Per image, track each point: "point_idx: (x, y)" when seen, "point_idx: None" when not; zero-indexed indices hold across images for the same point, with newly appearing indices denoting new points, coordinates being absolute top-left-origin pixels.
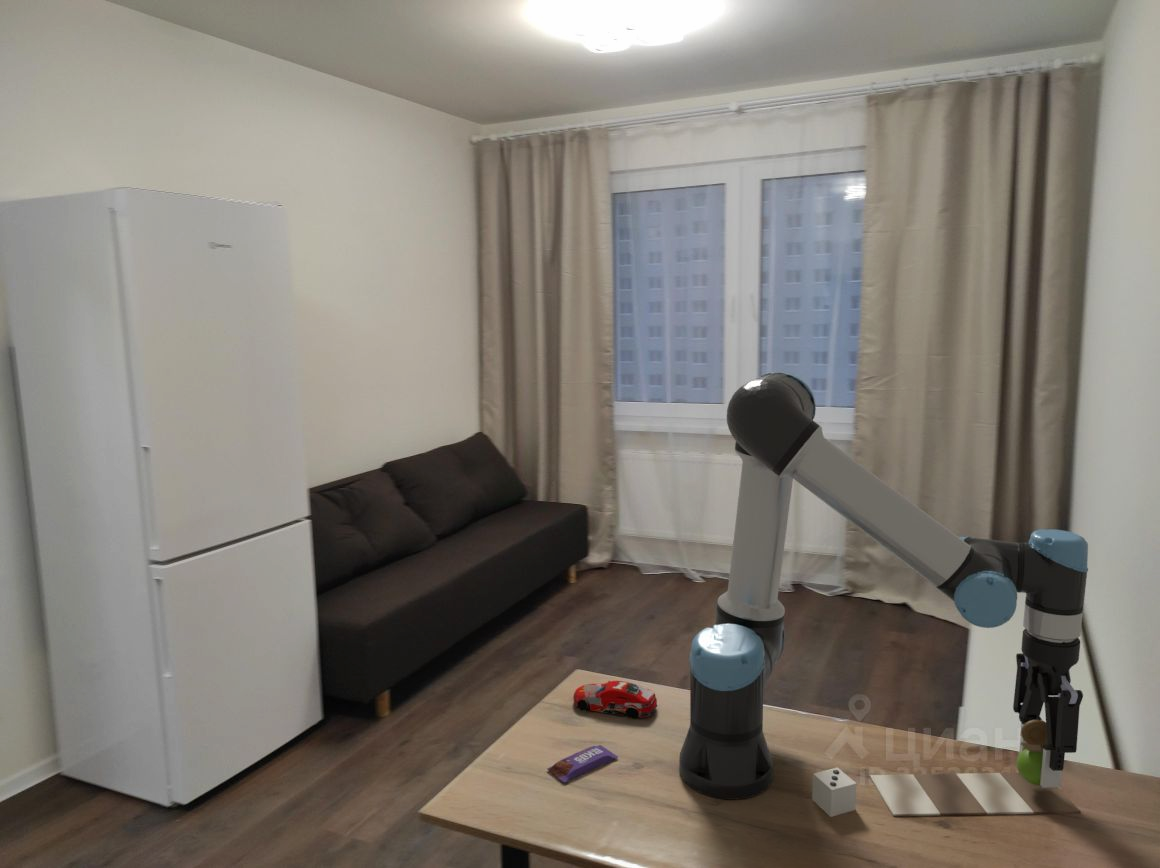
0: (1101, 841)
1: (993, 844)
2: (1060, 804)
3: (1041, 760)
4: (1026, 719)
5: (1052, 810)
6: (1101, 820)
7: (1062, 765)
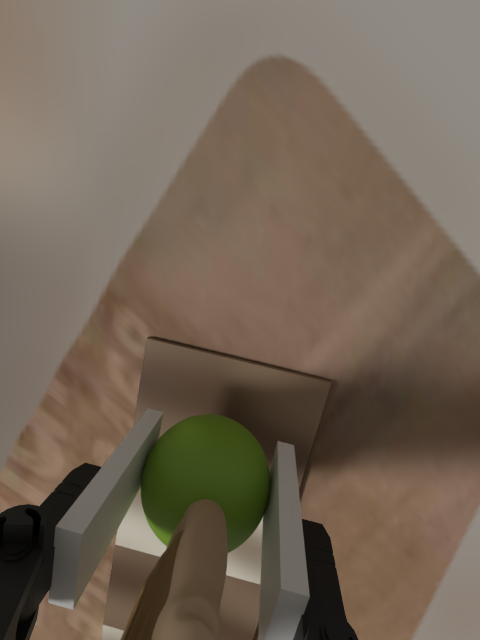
0: (445, 424)
1: (361, 637)
2: (290, 409)
3: (238, 540)
4: (30, 613)
5: (307, 448)
6: (375, 352)
7: (331, 554)
